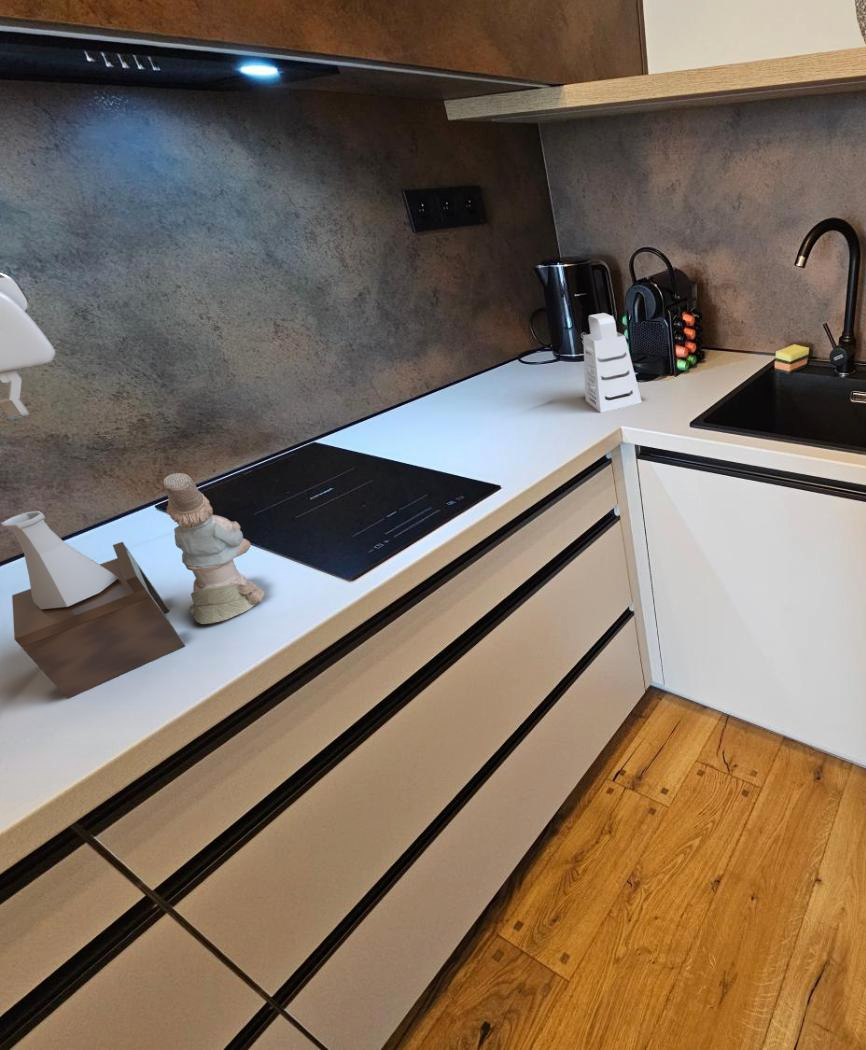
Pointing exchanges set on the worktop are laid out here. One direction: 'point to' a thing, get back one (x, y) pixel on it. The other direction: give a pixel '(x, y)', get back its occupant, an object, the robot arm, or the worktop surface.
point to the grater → (608, 366)
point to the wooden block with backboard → (97, 630)
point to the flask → (55, 564)
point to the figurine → (209, 553)
